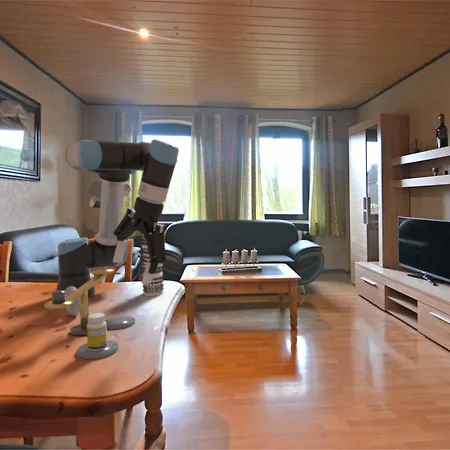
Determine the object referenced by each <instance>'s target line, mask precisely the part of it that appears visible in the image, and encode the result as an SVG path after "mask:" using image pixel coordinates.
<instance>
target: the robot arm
mask: <svg viewBox="0 0 450 450" xmlns="http://www.w3.org/2000/svg"><path fill="white" fill-rule="evenodd" d="M179 152H180V149H179V147H178V146H177V145H175V144H171V143H169V142H166V141H163V140H160V139H152V140H151V141H150V142H146V141H145V142H144V141H140V142H124V141H112V140H111V141H109V140H96V139H80V140H79V141H77V142H73V143H72V144H70V145H69V146H68V147H67V148H66V151H65V160H66V162H67V164H68V165H69V166H70V167H71V168H73V169H75V170H77V171H80V172H84V173H89V174H97V177H98V178H99V179H100V181H101V191H100V193H101V194H100V208H99V223H98V232H96V234H95V235H94V239H93V240H89V238H88V237H87V236H86V237H77V238H72V239H71V238H70V239H67V240H63V241H61V242H59V243H58V245H57V261H58V281H57V285H56V288H55V291H57V290H66V289H67V288H68V287H70V286H73V287H75V288H76V289H78V288H80V287H81V286H82V285H84V284H85V283H86V282H88V281H89V280H91V279H92V278H91V275H90V269H100V268H109V267H111V268H112V267H116V266H120V265H123V264H124V263H125V261H126V259H127V256H128V238H129V237H130V236H132V235H133V234H134V233H135V232H136V231H137V232H139V233H140V234H141V235H142V236H144V237H145V238H146V242H147V247H148V251H149V256H150V260H149V261H148V262H147V265H146V269H145V272H144V276H143V275H142V278H143V279H142V280H141V284H142V285H144V284H149V283H151V282H152V278H153V275H154V274H155V273H156V270H157V266H158V263H162V264H164V263H166V261H167V259H166V257H167V256H166V243H165V242H166V241H165V232H166V225H165V224H161V223H158V220H159V218H161V216H162V215H163V210H164V207H165V204H164V203H166V201H167V196H168V193H169V188H170V184H171V181H172V178H173V175H174V172H175V168H176V164H177V162H178V156H179ZM138 171H140V172H142V174H141V178H140V183H139V187H138V190H137V197H135V201H134V205H133V208H127V210H126V211H125V215H124V217H123V210H124V209H123V207H124V197H125V185H126V183H127V182H129V181H130V176H131V175H134V174H136V172H138ZM122 217H123V218H122ZM150 233H152V234H150ZM154 256H155V258H154ZM95 293H96V288H95V285H94V286H93V287H92V288H90V289H89V290H88V298H89V297H90V298H91V296H94V295H95Z"/></svg>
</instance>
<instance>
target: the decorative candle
mask: <svg viewBox="0 0 450 450" xmlns="http://www.w3.org/2000/svg"><path fill="white" fill-rule="evenodd" d="M150 234H152V233H150ZM141 239H142V240H141V243H142V245H141V249H140V252H141V255H140V256H141V258H140V260H141V261H142V263H141V267H142V268H143V271H142V272H143V273H142V277H141V279H142V280H143V276H144V272H145V269H146V265H147V262H148V261H149V260H150V256H149V251H148V247H147V242H146V238H145V237H144V235H142V237H141ZM154 258H155V256H154ZM163 265H164V263H158V266H157V270H156V273H155V274H154V275H153V278H152V282H151V283H149V284H142V291H143V293H142V295H143V296H146V297H148V296H149V297H156V296H160V295H163V294H164V293H165V292H164V289H165V287H164V283H163V282H164V279H163V278H164V275H163V267H162V266H163ZM155 295H156V296H155Z"/></svg>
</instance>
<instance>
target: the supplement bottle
mask: <svg viewBox="0 0 450 450" xmlns="http://www.w3.org/2000/svg"><path fill="white" fill-rule="evenodd" d="M104 320H106V318H105V314H104V313H102V312H98V313H97V312H95V313H91V314H89V316H88V322H89V323H88V324H87V335H86V336H87V343H88V349H89V350H90V351H99V350H103V349H105V348H106V347H107V340H108V331H107V330H108V329H107V325H106V322H105V321H104Z"/></svg>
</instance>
